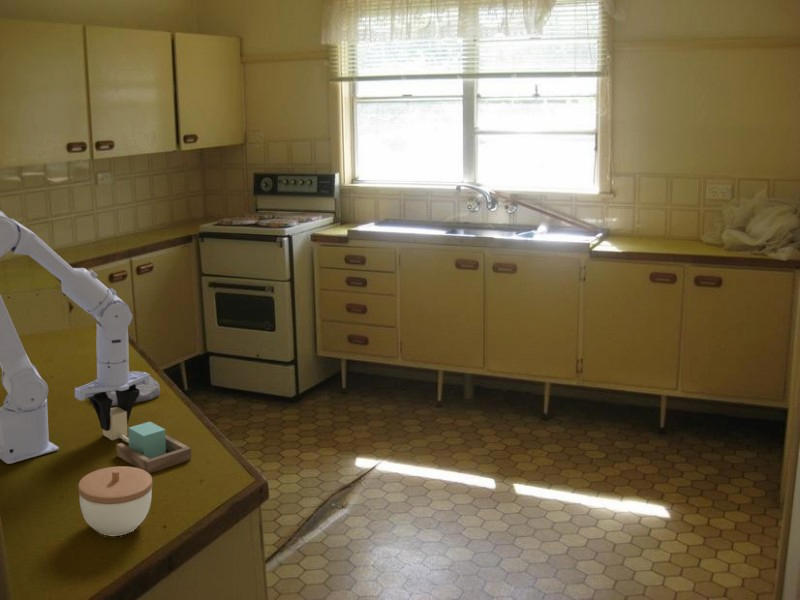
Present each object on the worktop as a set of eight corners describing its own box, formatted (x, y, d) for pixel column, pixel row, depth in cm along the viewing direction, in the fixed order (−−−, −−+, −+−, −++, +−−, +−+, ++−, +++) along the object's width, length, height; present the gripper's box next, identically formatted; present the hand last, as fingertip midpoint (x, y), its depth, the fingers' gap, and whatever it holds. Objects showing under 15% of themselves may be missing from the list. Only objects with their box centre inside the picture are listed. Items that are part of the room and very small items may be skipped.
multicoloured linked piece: (165, 454, 159) (165, 429, 158) (144, 461, 156) (143, 436, 155) (121, 429, 169) (120, 405, 168) (100, 436, 166) (99, 411, 164)
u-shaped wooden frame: (191, 459, 158) (191, 448, 158) (147, 473, 152) (147, 462, 151) (159, 442, 164) (159, 431, 164) (116, 455, 158) (116, 444, 157)
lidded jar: (127, 503, 141) (125, 450, 139) (167, 527, 135) (166, 471, 132) (66, 526, 133) (63, 470, 131) (105, 553, 126) (103, 494, 124)
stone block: (164, 403, 189) (137, 383, 194) (166, 384, 187) (139, 364, 192) (117, 419, 180) (89, 398, 185) (118, 399, 178) (91, 378, 183)
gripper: (87, 372, 155) (90, 443, 158) (158, 356, 165) (159, 423, 169) (68, 362, 159) (70, 431, 163) (138, 347, 170) (139, 412, 173)
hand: (114, 426), depth 166 cm, fingers closed on multicoloured linked piece, 3 cm apart
